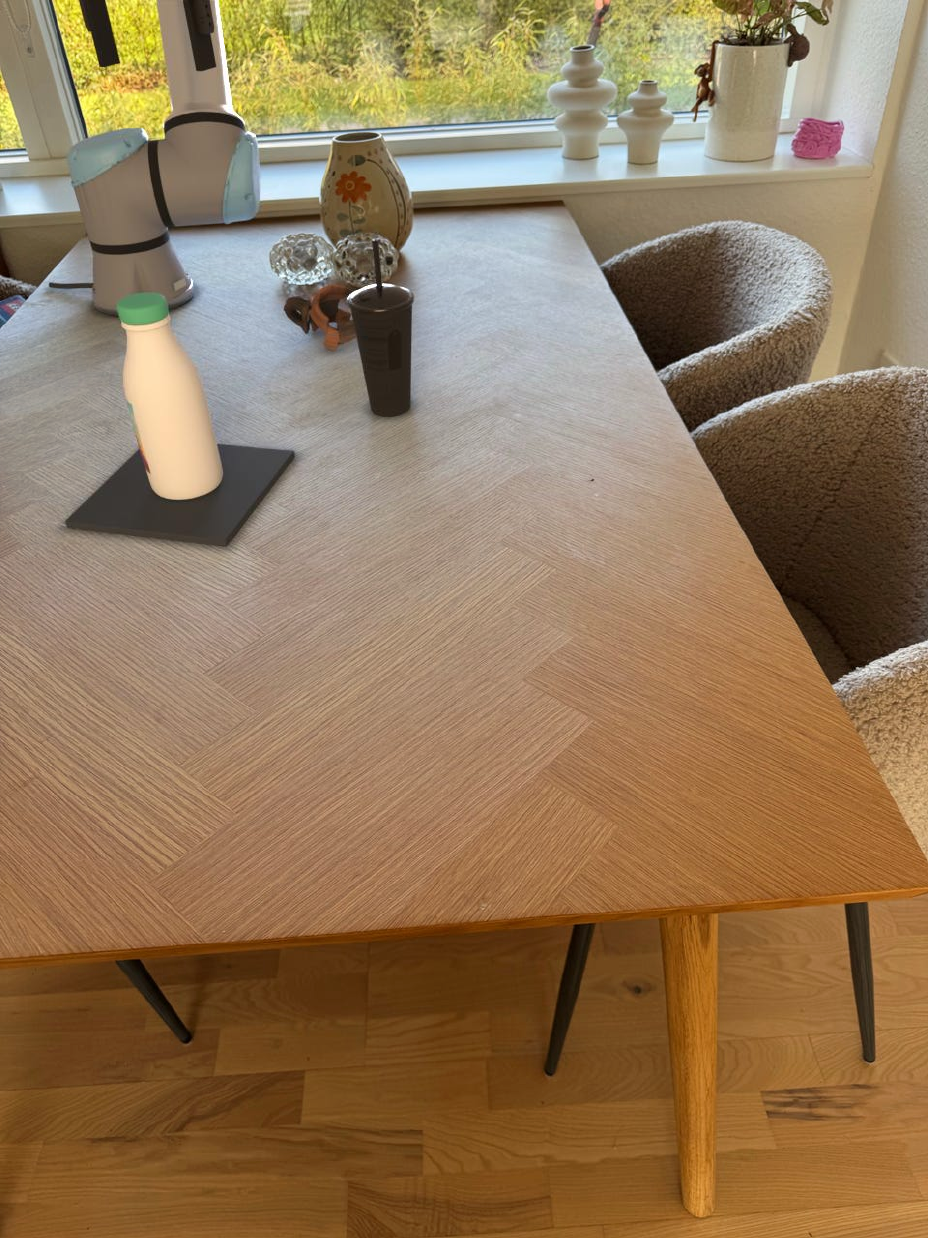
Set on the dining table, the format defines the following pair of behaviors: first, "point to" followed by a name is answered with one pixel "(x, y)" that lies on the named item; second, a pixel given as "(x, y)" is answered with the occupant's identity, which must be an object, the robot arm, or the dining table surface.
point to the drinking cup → (384, 341)
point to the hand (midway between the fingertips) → (157, 67)
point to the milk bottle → (167, 403)
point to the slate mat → (196, 520)
